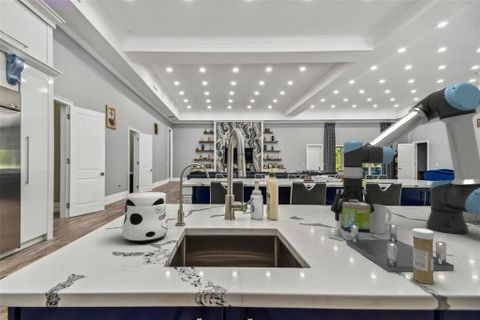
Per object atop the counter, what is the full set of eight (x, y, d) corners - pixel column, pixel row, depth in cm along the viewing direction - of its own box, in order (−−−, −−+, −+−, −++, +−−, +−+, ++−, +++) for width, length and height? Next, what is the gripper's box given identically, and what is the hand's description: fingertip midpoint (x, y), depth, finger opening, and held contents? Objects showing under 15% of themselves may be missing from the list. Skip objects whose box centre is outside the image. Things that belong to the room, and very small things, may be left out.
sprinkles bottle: (438, 283, 63) (438, 231, 64) (424, 285, 62) (424, 232, 63) (421, 275, 68) (421, 227, 68) (408, 276, 67) (408, 228, 67)
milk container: (176, 238, 99) (176, 194, 100) (133, 249, 87) (134, 198, 87) (155, 229, 111) (155, 190, 111) (115, 238, 99) (115, 194, 99)
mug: (374, 234, 107) (374, 206, 107) (365, 229, 113) (365, 204, 113) (396, 233, 107) (396, 206, 107) (386, 229, 114) (386, 204, 114)
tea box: (371, 242, 96) (371, 204, 96) (344, 240, 98) (344, 203, 98) (360, 231, 111) (359, 198, 111) (336, 230, 113) (336, 198, 113)
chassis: (395, 242, 95) (395, 223, 95) (453, 270, 71) (453, 244, 71) (346, 243, 94) (346, 224, 94) (388, 272, 70) (388, 246, 70)
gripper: (373, 176, 109) (373, 225, 109) (322, 176, 107) (322, 226, 107) (384, 178, 102) (384, 230, 101) (329, 177, 100) (329, 231, 100)
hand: (352, 228), depth 104 cm, fingers closed on tea box, 11 cm apart
